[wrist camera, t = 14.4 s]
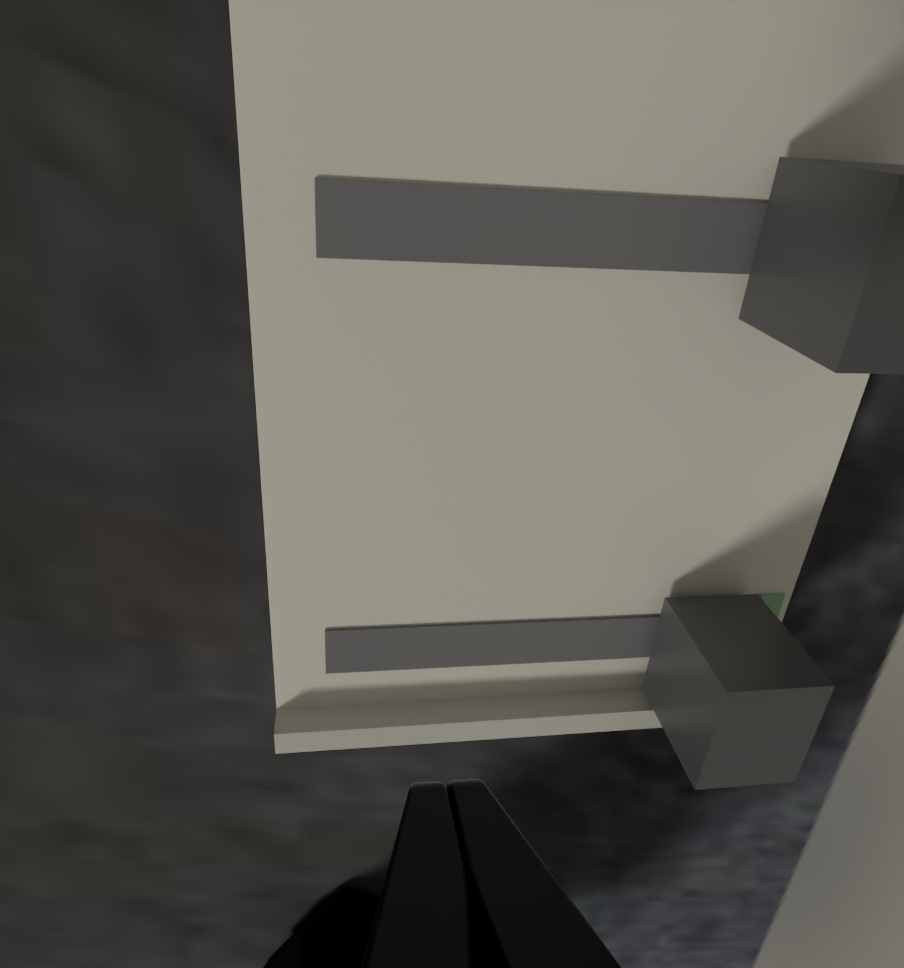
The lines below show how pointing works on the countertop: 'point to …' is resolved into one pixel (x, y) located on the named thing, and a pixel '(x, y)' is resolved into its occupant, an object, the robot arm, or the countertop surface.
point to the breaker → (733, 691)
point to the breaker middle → (832, 264)
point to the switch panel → (529, 340)
